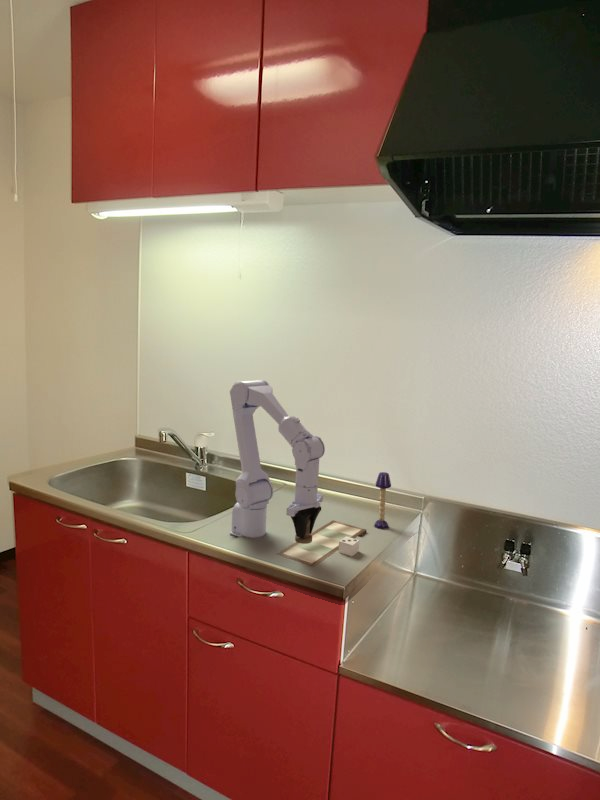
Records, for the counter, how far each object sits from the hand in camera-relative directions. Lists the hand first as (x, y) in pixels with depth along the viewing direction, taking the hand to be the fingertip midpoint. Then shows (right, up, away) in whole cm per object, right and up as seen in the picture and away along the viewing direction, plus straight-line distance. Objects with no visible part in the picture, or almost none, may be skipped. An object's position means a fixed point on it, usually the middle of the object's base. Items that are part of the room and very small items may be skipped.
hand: (303, 534), depth 134 cm
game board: (+6, -5, +10) cm, 13 cm away
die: (+12, -6, +4) cm, 14 cm away
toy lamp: (+24, -4, +25) cm, 35 cm away
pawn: (0, -1, 0) cm, 1 cm away
